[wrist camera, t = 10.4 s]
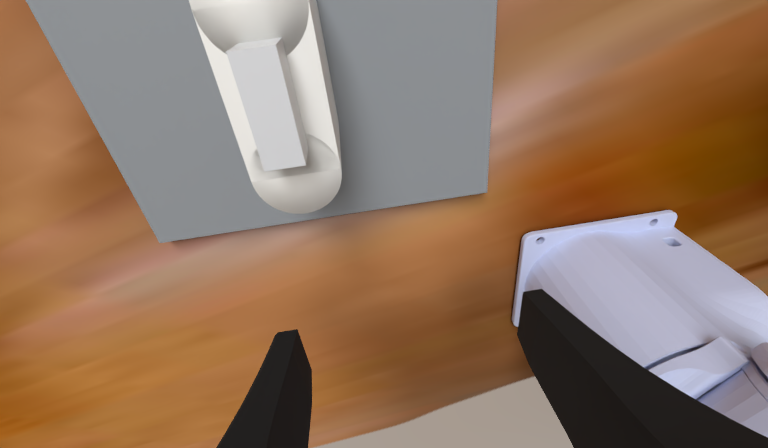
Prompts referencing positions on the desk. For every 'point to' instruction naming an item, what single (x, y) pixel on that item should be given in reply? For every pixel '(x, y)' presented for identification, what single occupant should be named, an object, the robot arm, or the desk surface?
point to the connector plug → (276, 96)
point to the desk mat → (351, 93)
